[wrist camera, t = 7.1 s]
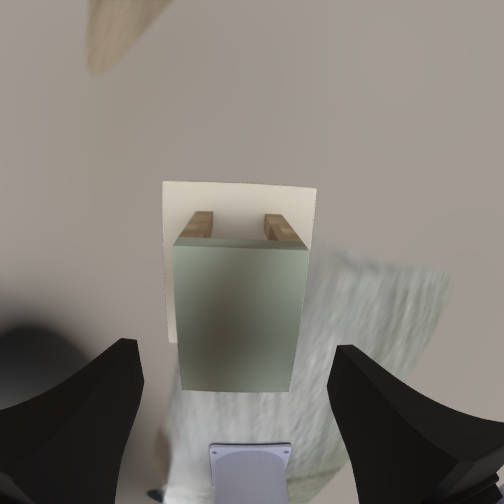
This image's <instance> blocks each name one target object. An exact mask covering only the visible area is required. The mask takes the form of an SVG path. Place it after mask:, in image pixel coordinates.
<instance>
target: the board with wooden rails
mask: <svg viewBox="0 0 504 504" xmlns="http://www.w3.org/2000/svg"><path fill="white" fill-rule="evenodd" d="M212 229H213V211H196V212H195V213H194V215H193V216H192V218H191V219H190V221H189V222H188V223H187V225H186V226H185V228H184V229H183V231H182V232H181V234H180V235H179V236H178V238H177V239H176V241H175V242H174V244H173V245H172V254H173V281H174V301H175V317H176V330H177V343H178V354H179V364H180V374H181V383H182V390H195V391H214V392H289V386H290V381H291V375H292V370H293V364H294V358H295V352H296V346H297V339H298V333H299V327H300V320H301V313H302V306H303V299H304V292H305V284H306V277H307V269H308V261H309V252H310V251H309V249H308V248H307V247H306V245H305V244H304V243H303V241H302V240H301V239H300V237H299V236H298V235H297V233H296V232H295V231H294V230H293V228H292V227H291V226H290V224H289V223H288V222H287V221H286V219H285V218H284V217H283V215H282V214H265V218H264V232H265V235H266V238H267V240H249V239H223V238H210V236H211V232H212Z"/></svg>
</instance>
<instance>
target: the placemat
mask: <svg viewBox="0 0 504 504" xmlns="http://www.w3.org/2000/svg"><path fill="white" fill-rule="evenodd" d="M316 191H317V189H316V188H311V187H299V186H286V185H270V184H255V183H234V182H206V181H163V198H162V200H163V201H162V203H163V204H162V209H163V210H162V212H163V258H164V279H165V280H164V281H165V297H166V312H167V324H168V336H169V343H177V330H176V317H175V301H174V281H173V254H172V245H173V244H174V242H175V241H176V239H177V238H178V236H179V235H180V234H181V232H182V231H183V229H184V228H185V226H186V225H187V223H188V222H189V221H190V219H191V218H192V216H193V215H194V213H195V212H196V211H213V229H212V232H211V236H210V238H223V239H249V240H267V238H266V235H265V232H264V218H265V214H282V215H283V217H284V218H285V219H286V221H287V222H288V223H289V224H290V226H291V227H292V228H293V230H294V231H295V232H296V233H297V235H298V236H299V237H300V239H301V240H302V241H303V243H304V244H305V245H306V247H307V248H308V249H309V251H310V248H311V240H312V231H313V221H314V211H315V201H316ZM309 256H310V252H309ZM308 265H309V261H308ZM307 272H308V269H307ZM306 280H307V277H306ZM305 287H306V284H305ZM304 295H305V292H304ZM303 302H304V299H303ZM302 308H303V306H302ZM301 315H302V313H301ZM300 322H301V320H300ZM299 328H300V327H299ZM298 334H299V333H298ZM297 341H298V339H297ZM296 347H297V346H296Z"/></svg>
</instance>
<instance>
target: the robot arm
mask: <svg viewBox="0 0 504 504" xmlns="http://www.w3.org/2000/svg"><path fill="white" fill-rule="evenodd" d="M143 386H144V377H143V372H142V367H141V362H140V356H139V350H138V344H137V340H133V339H125V338H121V339H119V340H118V341H117V342H115V343H114V344H113V345H112V346H110V347H109V348H108V349H107V350H105V351H104V352H103V353H102V354H100V355H99V356H98V357H97V358H95V359H94V360H93V361H91V362H90V363H89V364H88V365H86V366H85V367H84V368H82V369H81V370H79V371H78V372H77V373H75V374H73V375H72V376H71V377H69V378H68V379H66V380H65V381H64V382H62V383H60V384H58V385H57V386H55V387H53V388H52V389H50V390H48V391H46V392H44V393H42V394H41V395H38V396H36V397H34V398H31V399H30V400H27V401H25V402H22V403H20V404H18V405H15V406H12V407H9V408H6V409H3V410H0V504H115V496H116V488H117V481H118V475H119V469H120V464H121V459H122V455H123V452H124V448H125V446H126V442H127V440H128V437H129V434H130V431H131V428H132V425H133V422H134V419H135V417H136V414H137V411H138V408H139V405H140V401H141V396H142V391H143ZM327 391H328V395H329V400H330V404H331V408H332V411H333V414H334V417H335V419H336V422H337V425H338V427H339V430H340V433H341V435H342V438H343V441H344V443H345V446H346V449H347V451H348V454H349V457H350V461H351V464H352V468H353V473H354V477H355V482H356V487H357V493H358V498H359V504H504V484H503V485H502V486H500V487H499V488H498V487H497V485H496V484H495V483H496V482H498V481H499V477H498V475H497V473H496V472H497V471H498V470H499V469H500V468H501V467H502V466H503V465H504V423H503V422H497V421H492V420H486V419H482V418H478V417H474V416H471V415H468V414H465V413H462V412H459V411H456V410H454V409H451V408H449V407H446V406H444V405H442V404H440V403H438V402H436V401H434V400H432V399H430V398H428V397H426V396H424V395H422V394H420V393H419V392H417V391H415V390H414V389H412V388H411V387H409V386H407V385H406V384H405V383H403V382H402V381H400V380H399V379H397V378H396V377H394V376H393V375H392V374H390V373H389V372H388V371H386V370H385V369H384V368H382V367H381V366H380V365H379V364H377V363H376V362H375V361H373V360H372V359H371V358H370V357H368V356H367V355H366V354H365V353H363V352H362V351H361V350H359V349H358V348H357V347H355V346H354V345H337V348H336V352H335V356H334V360H333V364H332V368H331V372H330V375H329V379H328V383H327ZM209 451H210V463H211V475H212V485H213V486H214V504H290V500H289V494H288V487H287V481H286V475H285V471H286V467H287V464H288V461H289V458H290V454H291V451H292V446H291V445H290V444H281V445H211V446H210V448H209Z"/></svg>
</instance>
